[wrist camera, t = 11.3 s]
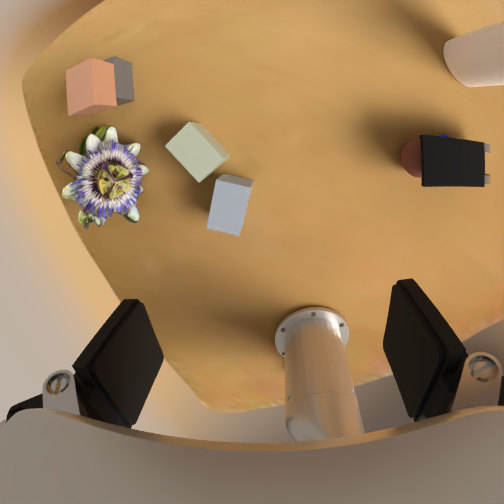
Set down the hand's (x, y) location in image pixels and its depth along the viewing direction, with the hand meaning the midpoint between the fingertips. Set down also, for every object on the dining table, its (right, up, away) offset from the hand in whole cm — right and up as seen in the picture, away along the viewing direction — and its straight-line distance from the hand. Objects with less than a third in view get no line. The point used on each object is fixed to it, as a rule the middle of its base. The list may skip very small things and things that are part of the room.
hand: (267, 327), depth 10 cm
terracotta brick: (-19, +23, +16) cm, 34 cm away
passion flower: (-20, +14, +26) cm, 36 cm away
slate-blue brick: (-3, +10, +26) cm, 28 cm away
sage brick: (-7, +16, +24) cm, 29 cm away
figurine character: (+26, +16, +21) cm, 38 cm away
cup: (+31, +31, +14) cm, 47 cm away
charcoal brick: (-19, +26, +20) cm, 38 cm away
